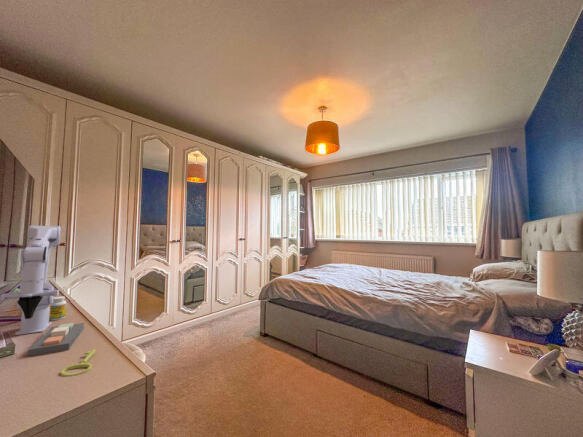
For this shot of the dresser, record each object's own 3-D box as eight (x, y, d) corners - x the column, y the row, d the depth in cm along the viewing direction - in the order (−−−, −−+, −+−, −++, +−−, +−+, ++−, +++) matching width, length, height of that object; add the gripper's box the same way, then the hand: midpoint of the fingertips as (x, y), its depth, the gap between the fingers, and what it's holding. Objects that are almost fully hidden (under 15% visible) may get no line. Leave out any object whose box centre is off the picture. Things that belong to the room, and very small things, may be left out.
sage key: (60, 330, 94) (60, 324, 95) (73, 328, 96) (74, 322, 97) (56, 334, 91) (57, 328, 91) (70, 332, 93) (71, 326, 93)
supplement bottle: (66, 315, 112) (68, 295, 112) (63, 319, 107) (65, 298, 108) (51, 317, 109) (52, 296, 109) (47, 321, 104) (49, 299, 105)
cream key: (54, 334, 89) (55, 328, 89) (68, 332, 91) (69, 326, 91) (50, 338, 85) (51, 332, 86) (65, 336, 87) (65, 330, 88)
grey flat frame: (51, 332, 94) (51, 326, 94) (83, 328, 99) (84, 322, 99) (27, 356, 77) (28, 349, 77) (68, 349, 82) (69, 343, 82)
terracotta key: (47, 344, 83) (48, 337, 83) (62, 342, 85) (63, 335, 85) (42, 349, 80) (43, 342, 80) (58, 347, 82) (59, 340, 82)
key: (95, 354, 80) (96, 348, 80) (90, 373, 70) (91, 366, 70) (67, 360, 76) (67, 354, 76) (57, 381, 66) (58, 373, 66)
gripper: (-4, 283, 79) (-8, 325, 78) (55, 280, 86) (52, 318, 85) (7, 279, 85) (4, 318, 84) (62, 277, 92) (59, 312, 91)
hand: (29, 317), depth 85 cm, fingers closed
